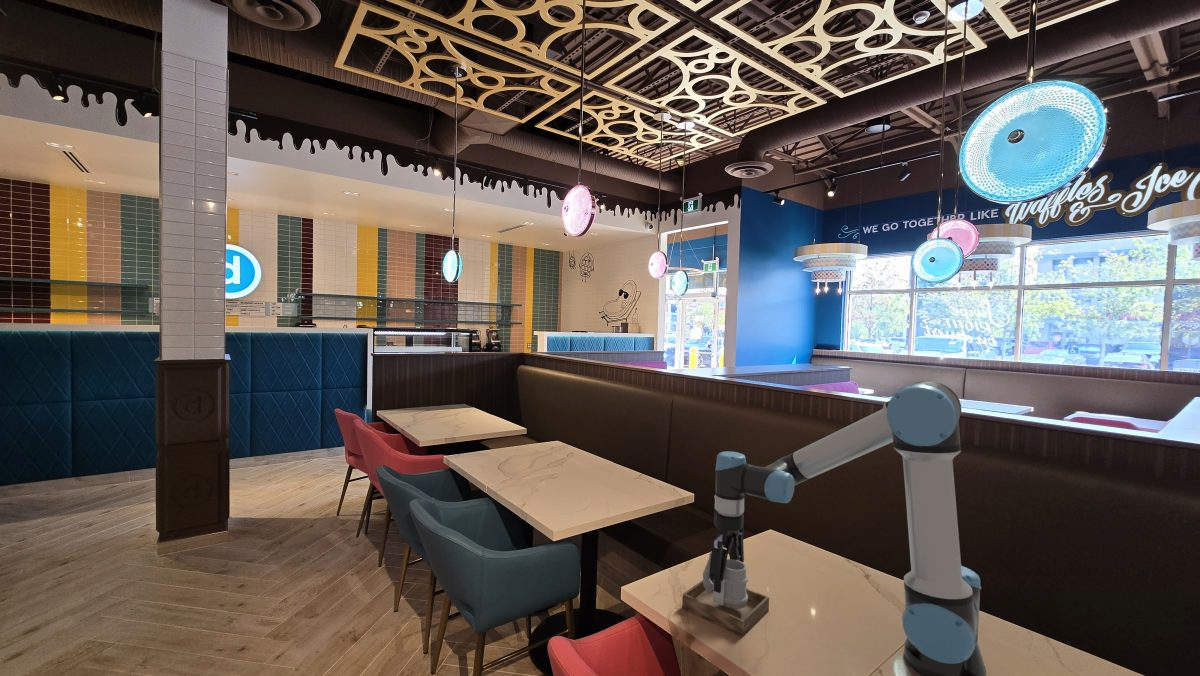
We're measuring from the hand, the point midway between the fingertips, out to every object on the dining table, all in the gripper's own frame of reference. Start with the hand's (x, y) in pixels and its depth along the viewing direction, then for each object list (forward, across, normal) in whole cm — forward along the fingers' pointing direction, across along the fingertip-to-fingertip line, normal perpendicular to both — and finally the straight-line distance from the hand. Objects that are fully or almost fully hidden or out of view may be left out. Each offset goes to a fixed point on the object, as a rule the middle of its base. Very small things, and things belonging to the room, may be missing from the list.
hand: (726, 596), depth 130 cm
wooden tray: (+4, 0, 0) cm, 4 cm away
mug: (+1, +1, 0) cm, 1 cm away
